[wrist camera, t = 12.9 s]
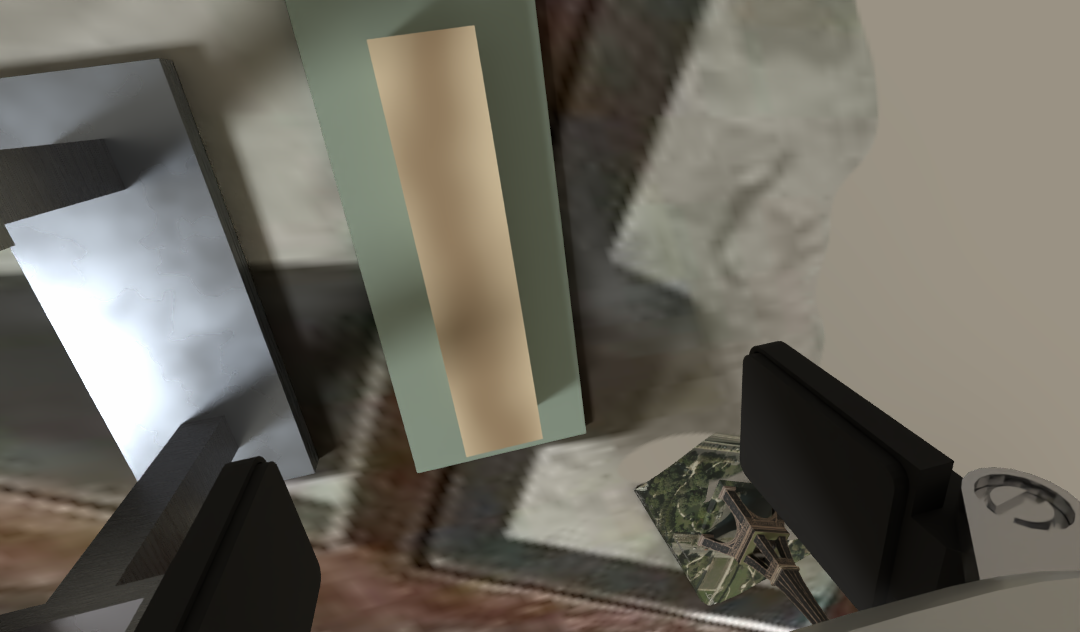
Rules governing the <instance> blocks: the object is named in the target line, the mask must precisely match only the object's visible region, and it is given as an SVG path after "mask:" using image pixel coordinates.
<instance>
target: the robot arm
mask: <svg viewBox="0 0 1080 632" xmlns="http://www.w3.org/2000/svg"><path fill="white" fill-rule="evenodd" d="M740 463H741V467H742V470H743V472H744V474H745V475H746V476H747V478H748V479H749V480H750V481H751V483H752V484H753V485H754V486H755V487H756V489H757V490H758V491H759V492H760V493H761V495H762V496H763V497H764V498H765V499H766V501H767V502H768V503H769V504H770V505H771V507H772V508H773V509H774V510H775V511H776V513H777V514H778V515H779V516H780V517H781V519H782V520H783V521H784V522H785V523H786V524H787V526H788V527H789V528H790V529H791V530H792V532H793V533H794V534H795V535H796V536H797V538H798V539H799V540H800V541H801V542H802V544H803V545H804V546H805V547H806V548H807V550H808V551H809V552H810V553H811V554H812V556H813V557H814V558H815V559H816V560H817V562H818V563H819V564H820V565H821V566H822V568H823V569H824V570H825V571H826V572H827V574H828V575H829V576H830V577H831V578H832V580H833V581H834V582H835V583H836V584H837V586H838V587H839V588H840V589H841V590H842V592H843V593H844V594H845V595H846V596H847V598H848V599H849V600H850V601H851V602H852V604H853V605H854V606H855V607H856V608H857V609H858V610H859V611H858V612H855V613H852V614H848V615H845V616H841V617H838V618H834V619H831V620H828V621H824V622H821V623H817V624H814V625H811V626H807V627H804V628H800V629H797V630H793V631H790V632H1080V502H1079V501H1078V500H1077V499H1076V498H1075V497H1074V496H1072V495H1071V494H1070V493H1069V492H1068V491H1066V490H1064V489H1062V488H1061V487H1059V486H1057V485H1055V484H1054V483H1052V482H1050V481H1048V480H1045V479H1042V478H1040V477H1037V476H1035V475H1032V474H1029V473H1025V472H1021V471H1017V470H1013V469H1006V468H996V467H991V468H980V469H977V470H974V471H971V472H969V473H968V474H967V475H966V476H965V477H964V478H962V477H961V476H960V475H958V474H957V473H955V472H954V471H953V470H952V468H953V463H954V461H953V460H952V459H950V458H949V457H947V456H946V455H944V454H943V453H942V452H940V451H939V450H937V449H936V448H934V447H933V446H932V445H930V444H929V443H927V442H926V441H924V440H923V439H922V438H920V437H919V436H917V435H916V434H914V433H913V432H912V431H910V430H908V429H907V428H906V427H904V426H903V425H902V424H900V423H899V422H897V421H896V420H894V419H893V418H891V417H890V416H889V415H887V414H886V413H884V412H883V411H882V410H880V409H879V408H877V407H876V406H874V405H873V404H871V403H870V402H868V401H867V400H866V399H864V398H863V397H862V396H860V395H859V394H857V393H856V392H854V391H853V390H851V389H850V388H849V387H847V386H846V385H844V384H843V383H841V382H840V381H839V380H837V379H836V378H834V377H833V376H832V375H830V374H829V373H827V372H826V371H824V370H823V369H821V368H820V367H819V366H817V365H816V364H814V363H813V362H811V361H810V360H809V359H807V358H806V357H804V356H803V355H801V354H800V353H799V352H797V351H796V350H794V349H793V348H791V347H790V346H789V345H787V344H786V343H784V342H782V341H777V342H772V343H767V344H763V345H758V346H754V347H753V348H751V350H750V353H749V355H746V356H745V357H744V359H743V376H742V406H741V435H740ZM320 583H321V572H320V566H319V563H318V561H317V558H316V556H315V553H314V551H313V549H312V546H311V544H310V542H309V539H308V537H307V534H306V532H305V530H304V527H303V525H302V523H301V520H300V518H299V515H298V513H297V511H296V508H295V506H294V504H293V501H292V499H291V496H290V494H289V492H288V489H287V487H286V484H285V482H284V480H283V477H282V475H281V473H280V470H279V468H278V466H277V464H276V463H275V462H273V461H270V462H266V460H265V459H264V458H263V457H261V456H256V457H252V458H247V459H243V460H238V461H234V462H229V463H227V464H225V465H224V467H223V468H222V470H221V472H220V473H219V475H218V477H217V479H216V481H215V483H214V485H213V486H212V488H211V490H210V492H209V494H208V496H207V498H206V499H205V501H204V503H203V505H202V507H201V509H200V511H199V513H198V514H197V516H196V518H195V520H194V522H193V524H192V526H191V527H190V529H189V531H188V533H187V535H186V537H185V539H184V540H183V542H182V544H181V546H180V548H179V550H178V552H177V554H176V555H175V557H174V559H173V560H172V562H171V563H170V565H169V567H168V569H167V571H166V573H165V575H164V576H163V578H162V580H161V582H160V584H159V586H158V588H157V589H156V591H155V593H154V595H153V597H152V599H151V601H150V602H149V604H148V606H147V608H146V610H145V612H144V614H143V615H142V617H141V619H140V621H139V623H138V625H137V627H136V628H135V630H134V632H310V631H311V626H312V622H313V617H314V612H315V608H316V603H317V598H318V593H319V589H320Z"/></svg>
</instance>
